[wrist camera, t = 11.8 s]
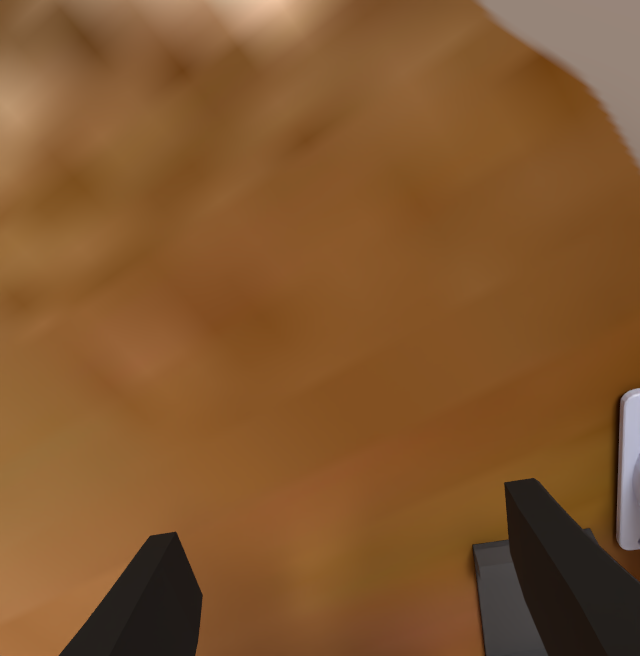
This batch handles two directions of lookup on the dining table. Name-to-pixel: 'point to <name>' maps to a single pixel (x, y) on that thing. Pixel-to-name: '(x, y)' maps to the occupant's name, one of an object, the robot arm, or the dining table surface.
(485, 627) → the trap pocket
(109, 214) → the dining table surface
